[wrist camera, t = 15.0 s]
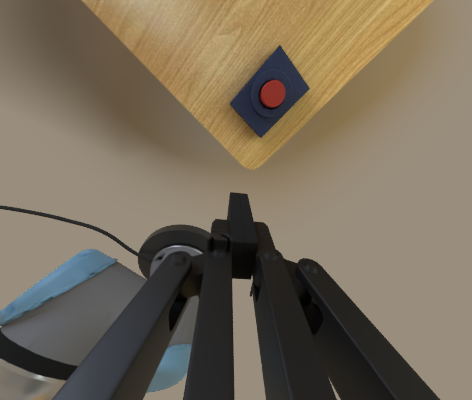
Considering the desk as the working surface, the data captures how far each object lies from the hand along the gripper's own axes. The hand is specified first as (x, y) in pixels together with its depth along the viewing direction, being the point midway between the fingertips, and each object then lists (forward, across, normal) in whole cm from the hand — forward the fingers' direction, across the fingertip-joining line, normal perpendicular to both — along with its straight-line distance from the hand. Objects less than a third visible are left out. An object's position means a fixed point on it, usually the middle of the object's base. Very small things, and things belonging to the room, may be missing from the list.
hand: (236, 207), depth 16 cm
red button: (+19, +5, +11) cm, 22 cm away
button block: (+22, +5, +11) cm, 25 cm away
